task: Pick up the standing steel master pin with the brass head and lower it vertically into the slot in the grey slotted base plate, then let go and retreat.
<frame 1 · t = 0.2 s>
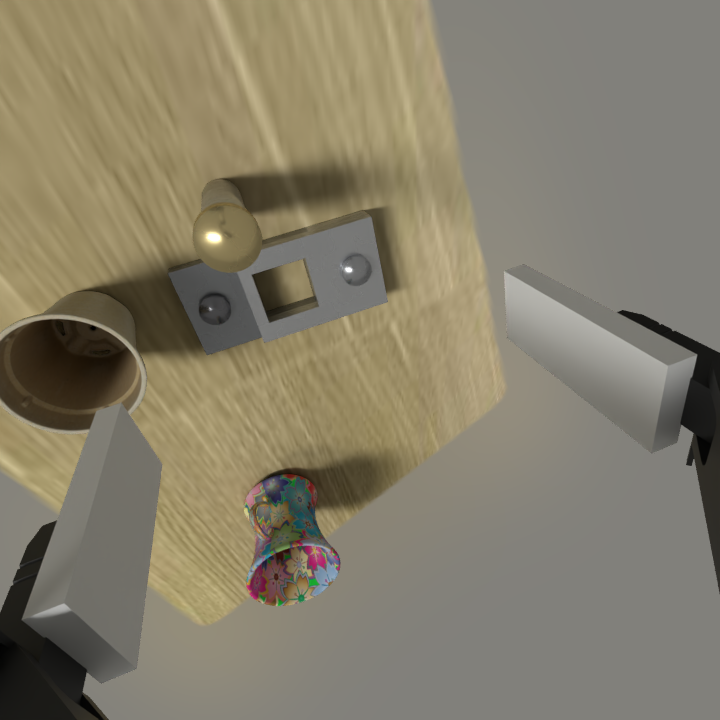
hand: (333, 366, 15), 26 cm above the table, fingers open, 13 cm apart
grey slotted base plate: (282, 281, 40), on the table
flower pot: (95, 323, 38), on the table
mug: (274, 489, 53), on the table
master pin: (221, 199, 36), on the table
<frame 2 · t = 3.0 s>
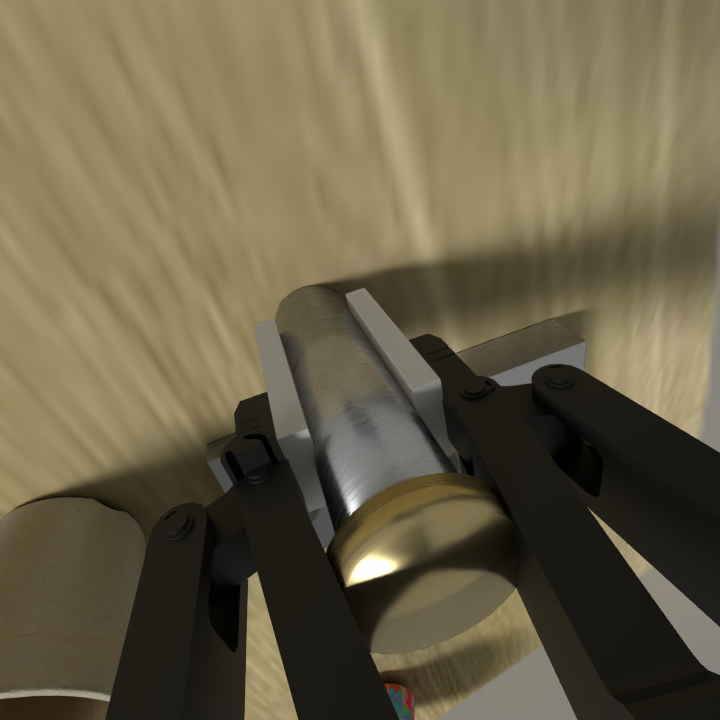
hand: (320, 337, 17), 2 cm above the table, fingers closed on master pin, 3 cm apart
grey slotted base plate: (402, 440, 23), on the table
flower pot: (72, 540, 20), on the table
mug: (351, 697, 35), on the table
master pin: (312, 321, 18), on the table, touching gripper
when the fingers open (3 cm above the table, at t = 7.0 s): master pin stays where it is, resting in grey slotted base plate.
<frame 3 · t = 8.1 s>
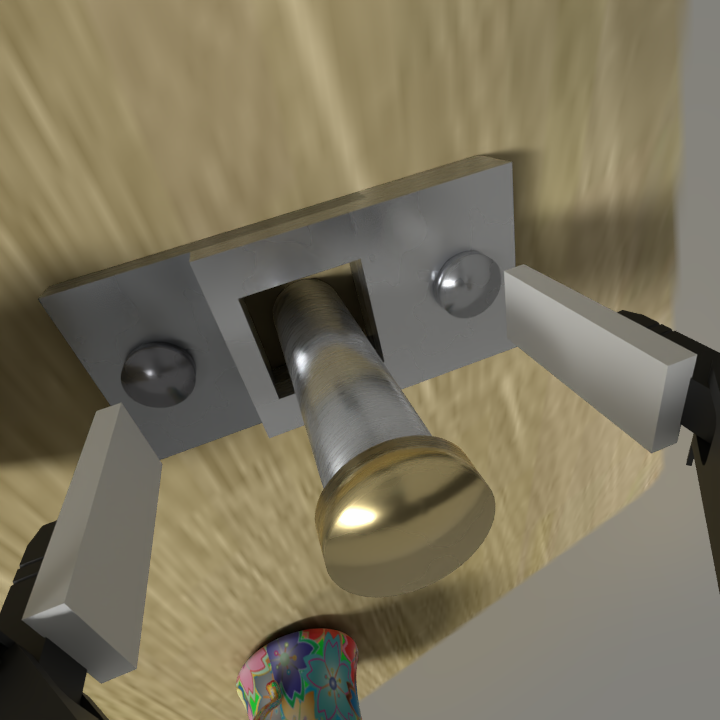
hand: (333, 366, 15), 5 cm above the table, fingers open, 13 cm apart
grey slotted base plate: (306, 308, 19), on the table
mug: (286, 646, 31), on the table
master pin: (307, 312, 19), resting in grey slotted base plate
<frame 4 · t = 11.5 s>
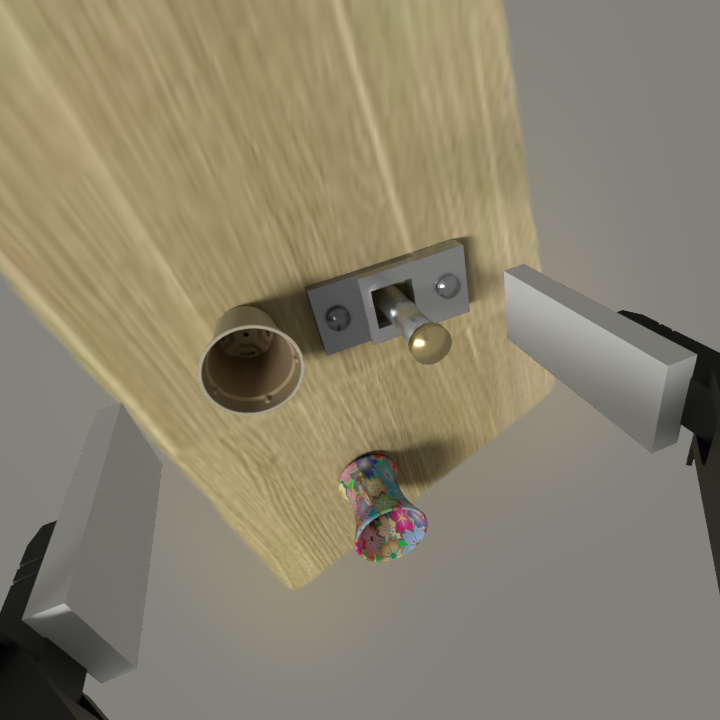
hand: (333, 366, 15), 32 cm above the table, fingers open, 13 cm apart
grey slotted base plate: (387, 295, 50), on the table
flower pot: (246, 331, 48), on the table
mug: (361, 468, 63), on the table
master pin: (387, 297, 50), resting in grey slotted base plate
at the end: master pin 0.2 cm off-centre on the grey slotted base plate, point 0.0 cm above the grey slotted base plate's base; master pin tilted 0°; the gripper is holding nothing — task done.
